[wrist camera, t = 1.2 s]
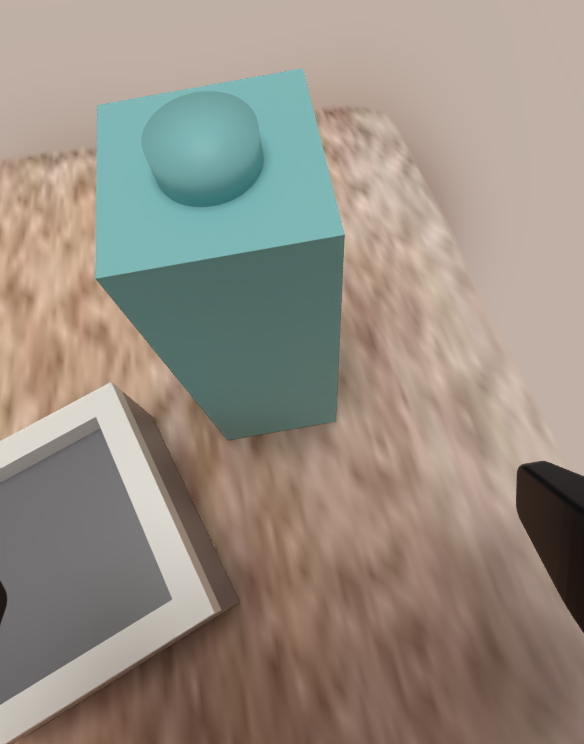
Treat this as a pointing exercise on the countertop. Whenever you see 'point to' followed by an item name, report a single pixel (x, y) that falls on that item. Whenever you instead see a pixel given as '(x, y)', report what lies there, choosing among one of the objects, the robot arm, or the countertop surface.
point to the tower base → (94, 557)
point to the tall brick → (227, 246)
